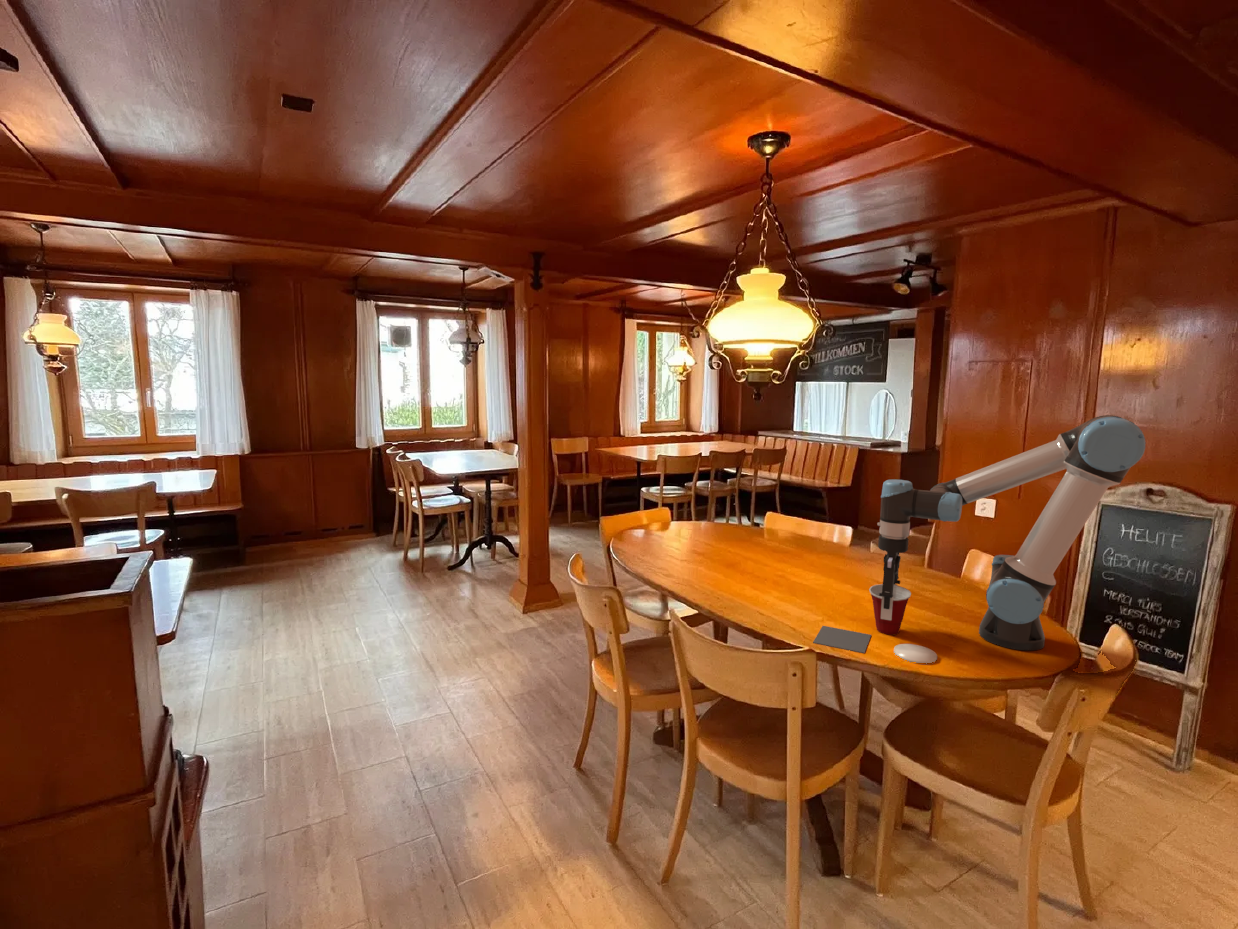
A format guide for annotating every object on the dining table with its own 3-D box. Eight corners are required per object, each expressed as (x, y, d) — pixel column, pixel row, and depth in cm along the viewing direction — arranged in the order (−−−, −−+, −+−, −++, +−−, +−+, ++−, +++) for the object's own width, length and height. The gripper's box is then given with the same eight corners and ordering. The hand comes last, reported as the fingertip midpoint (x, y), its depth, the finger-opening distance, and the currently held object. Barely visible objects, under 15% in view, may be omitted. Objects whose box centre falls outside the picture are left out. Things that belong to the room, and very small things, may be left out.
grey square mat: (871, 637, 171) (871, 634, 171) (864, 655, 160) (864, 652, 160) (822, 628, 177) (822, 625, 177) (812, 645, 166) (813, 642, 166)
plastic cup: (859, 630, 174) (862, 589, 172) (876, 620, 182) (878, 581, 180) (899, 642, 166) (902, 599, 165) (914, 631, 174) (917, 590, 172)
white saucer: (937, 653, 161) (937, 649, 161) (935, 669, 152) (936, 664, 152) (895, 645, 166) (896, 641, 166) (891, 659, 157) (892, 655, 157)
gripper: (884, 525, 182) (879, 597, 185) (873, 543, 162) (868, 623, 165) (912, 528, 178) (906, 601, 181) (904, 547, 158) (898, 629, 161)
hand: (888, 612), depth 173 cm, fingers closed on plastic cup, 11 cm apart
